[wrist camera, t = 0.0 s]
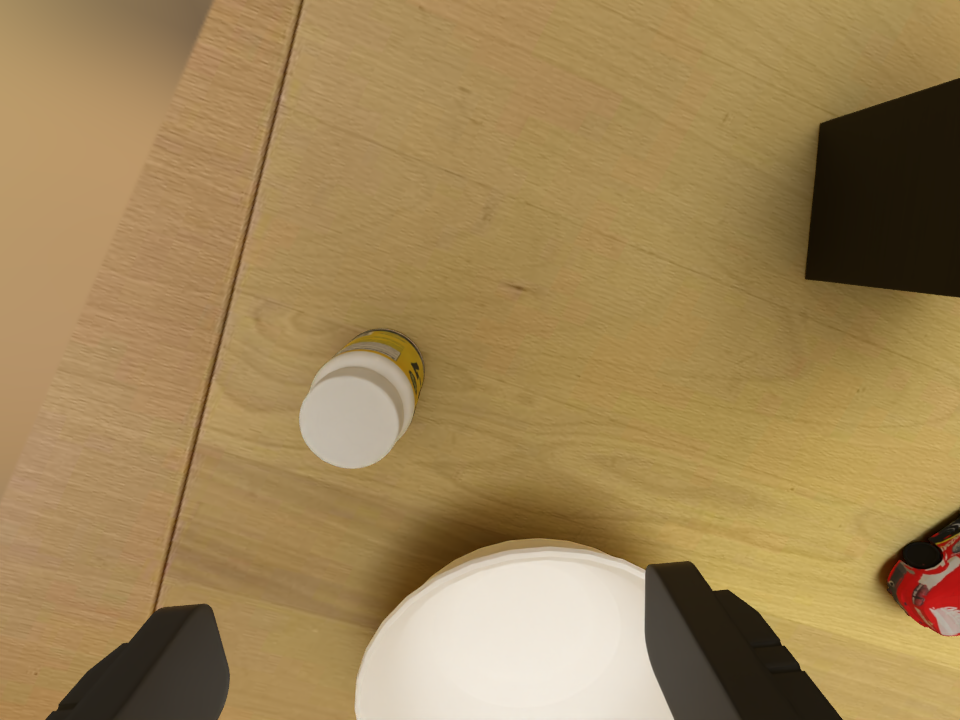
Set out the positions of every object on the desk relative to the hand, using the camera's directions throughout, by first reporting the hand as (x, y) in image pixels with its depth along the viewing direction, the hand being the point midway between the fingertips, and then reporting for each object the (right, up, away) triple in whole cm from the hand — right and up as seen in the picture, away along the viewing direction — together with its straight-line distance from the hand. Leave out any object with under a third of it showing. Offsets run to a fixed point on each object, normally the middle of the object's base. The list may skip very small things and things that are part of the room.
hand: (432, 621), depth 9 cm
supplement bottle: (-5, +4, +18) cm, 19 cm away
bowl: (+4, -12, +23) cm, 26 cm away
